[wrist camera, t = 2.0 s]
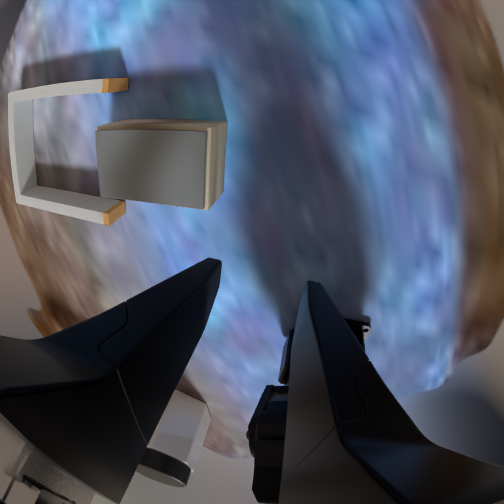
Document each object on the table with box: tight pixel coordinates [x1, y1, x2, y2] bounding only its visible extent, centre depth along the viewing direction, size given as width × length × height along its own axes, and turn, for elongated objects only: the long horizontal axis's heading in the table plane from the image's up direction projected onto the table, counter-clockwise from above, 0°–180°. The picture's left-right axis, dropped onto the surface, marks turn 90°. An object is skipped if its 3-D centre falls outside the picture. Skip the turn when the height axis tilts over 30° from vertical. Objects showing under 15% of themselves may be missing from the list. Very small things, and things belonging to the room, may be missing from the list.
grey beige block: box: [96, 119, 228, 210], centre depth 18 cm, size 8×5×4 cm, turn 85°
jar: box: [136, 389, 211, 487], centre depth 33 cm, size 9×8×12 cm
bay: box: [8, 78, 129, 226], centre depth 20 cm, size 12×11×2 cm
